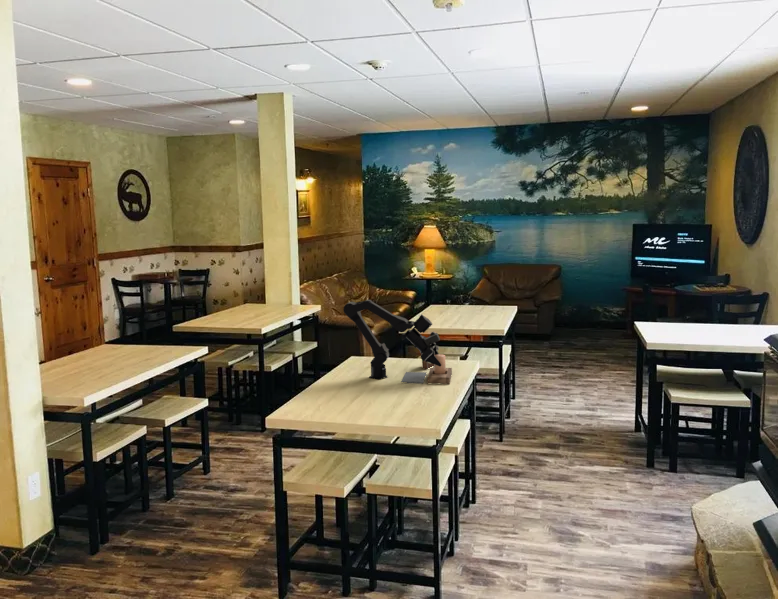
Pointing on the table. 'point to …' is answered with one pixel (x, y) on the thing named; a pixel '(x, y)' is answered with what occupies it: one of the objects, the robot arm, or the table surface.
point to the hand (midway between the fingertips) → (441, 363)
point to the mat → (414, 377)
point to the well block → (439, 376)
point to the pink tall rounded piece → (441, 368)
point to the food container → (427, 364)
